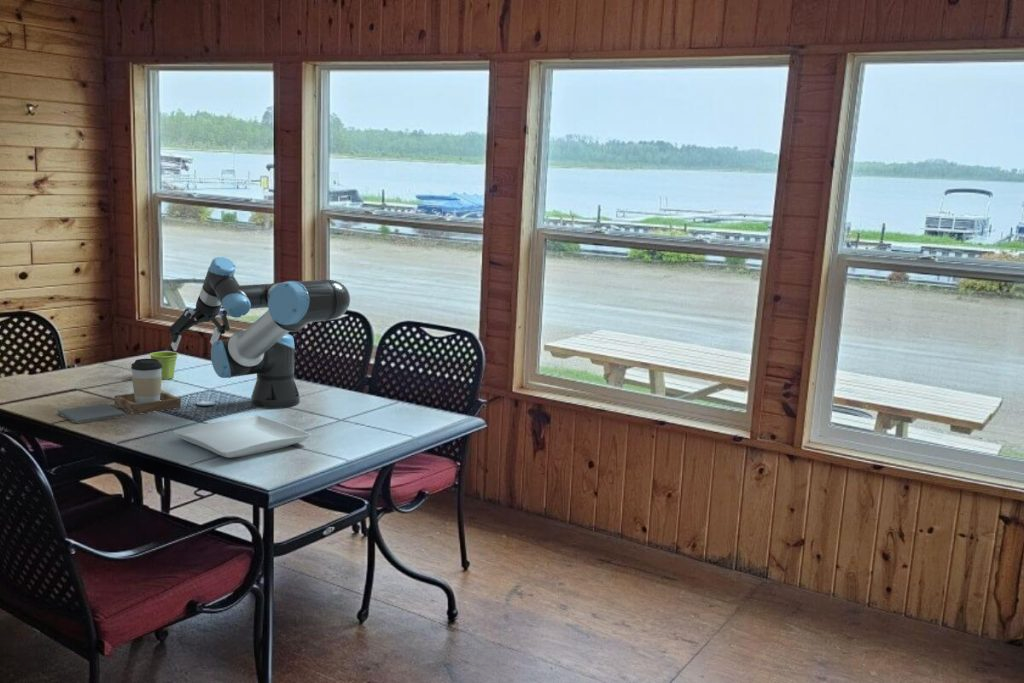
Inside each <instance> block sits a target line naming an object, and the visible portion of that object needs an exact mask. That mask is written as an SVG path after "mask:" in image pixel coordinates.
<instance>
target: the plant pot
mask: <svg viewBox="0 0 1024 683" xmlns="http://www.w3.org/2000/svg"><path fill="white" fill-rule="evenodd" d="M149 356H150V359H156V360H158V361H159V363H161V364H162V371H161V374H162V379H163V380H165V379H167V380H169V379H171V378H172V379H174V378H175V377H174V376H175V370H176V363H177V358H178V356H179V353H178V352H177V351H156V352H151V353H149Z"/></svg>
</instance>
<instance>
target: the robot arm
mask: <svg viewBox="0 0 1024 683" xmlns="http://www.w3.org/2000/svg"><path fill="white" fill-rule="evenodd" d="M235 272H236V264H235V263H234V261H232V260H231V259H230V258H227V257H223V256H221V257H215V258H213V259H212V261H211V263H210V265H209V267H208V268H207V272H206V275H205V277H204V281H203V284H202V287H201V289H200V292H199V295H198V297H197V300H196V303H195V308H194V309H193V310H189V308H186V309H184V311H183V313H182V314H181V315H180V316H179V317H178V319H177V320H176V321H174V323H173V324H172V325H171V326H169V328H168V332H169V333H170V335H171V338H170V339H171V343H170V346H171V348H172V350H173V352H177V350H178V347H179V344H180V342H181V339H182V334H183V333H185V332H187V331H188V330H189V329H190V328H192V327H193V326H194V325H198V324H200V323H209V322H212V323H213V324H214V325H215V327H214V330H213V332H212V335H211V338H210V340H209V343H210V344H211V348H210V359H211V365H212V368H213V370H214V372H215V374H216V375H217V377H219V378H221V379H228V378H229V379H231V378H234V377H235V378H237V377H243V376H250V375H256V381H255V384H254V387H253V389H252V392H251V393H252V394H251V397H250V398H251V399H250V402H251V405H253V406H254V407H257V408H258V407H259V408H265V409H282V408H283V409H285V408H290V407H295V406H297V405H299V404H300V398H301V397H300V393H299V390H298V387H297V384H296V380H295V349H296V347H295V341H294V340H295V339H294V336H293V335H291V334H289V333H290V332H295V333H296V332H298V331H300V330H302V329H303V328H304V327H305V326H307V325H308V324H310V323H314V322H324V321H325V322H326V321H332V320H336V319H338V318H340V317H342V316H343V315H344V314H345V313H346V312H347V311H348V309H349V306H350V303H351V296H350V292H349V290H348V288H347V287H346V286H345V285H344V284H343V283H342V282H339V281H338V280H333V279H316V280H315V279H314V280H300V281H299V280H298V281H297V280H288V281H284V282H272V283H260V284H243V285H240V284H239V283H238V280H237V278H235V276H234V275H235ZM263 308H264V309H265V308H268V310H267V311H265V312H264V314H262V315H261V316H260V317H259V318H258V319H257V320H256V321H254V322H253V323H252V324H251V325H250V326H249V327H248V328H246V329H245V330H240V331H237V332H234V333H233V334H232V335H231V336H230V337H228V338H227V339H221V338H222V336H223V335H224V334H226V331H229V330H230V326H229V325H230V324H229V321H228V316H230V317H231V318H236V319H237V318H241V317H242V316H246V315H247V314H249V312H250V310H252V309H253V310H254V309H263ZM218 315H219V316H220V318H221V321H222V325H221V323H220V322H219V320H218V319H217V318H216V317H217V316H218ZM227 315H228V316H227Z"/></svg>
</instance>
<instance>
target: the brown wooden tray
mask: <svg viewBox="0 0 1024 683" xmlns="http://www.w3.org/2000/svg"><path fill="white" fill-rule="evenodd" d="M160 400H161V401H154V402H147V403H140V404H136V402H135V395H134V392H133V393H127V394H126V393H125V394H118V395H114V406H115V405H117V406H119V407H121V408H123V409H125V410H127V411H129V412H131V413H133V414H139V415H141V414H140V413H145V414H149V413H148V412H152V413H154V412H153V411H158V412H162V411H161V410H165V411H168V410H167V409H171V410H175V409H174V408H178V409H181V408H182V407H181V406H182V405H181V398H180V397H178V396H175V395H173V394H170V393H169V392H166V391H164V390H162V389H161V394H160ZM117 406H116V407H117ZM119 407H118V408H119ZM121 408H120V409H121ZM123 409H122V410H123ZM125 410H124V411H125ZM127 411H126V412H127ZM129 412H128V413H129ZM131 413H130V414H131ZM133 414H132V415H133Z"/></svg>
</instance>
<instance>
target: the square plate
mask: <svg viewBox="0 0 1024 683" xmlns="http://www.w3.org/2000/svg"><path fill="white" fill-rule="evenodd" d="M172 433H173V434H175V435H177V436H178V438H180V439H182V440H184V441H186V442H188V443H190V444H192V445H196V446H198V447H201V448H203V449H206V450H208V451H211V452H212V453H214V454H217V455H219V456H221V457H224V458H227V459H228V458H229V459H232V458H242V457H247V456H252V455H256V454H260V453H265V452H268V451H269V452H270V451H273V450H277V449H282V448H286V447H289V446H291V445H296V444H300V443H302V442H304V441H306V440H308V439H309V438H310V437H311V436H312V433H311V432H307V431H305V430H303V429H300V428H298V427H294V426H292V425H288V424H286V423H284V422H280V421H277V420H275V419H274V420H273V419H272V418H267V417H264V416H261V415H252V416H245V417H239V418H232V419H227V420H219V421H215V422H208V423H203V424H198V425H195V426H194V425H193V426H189V427H185V428H180V429H179V428H178V429H175V430H173V431H172Z"/></svg>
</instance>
